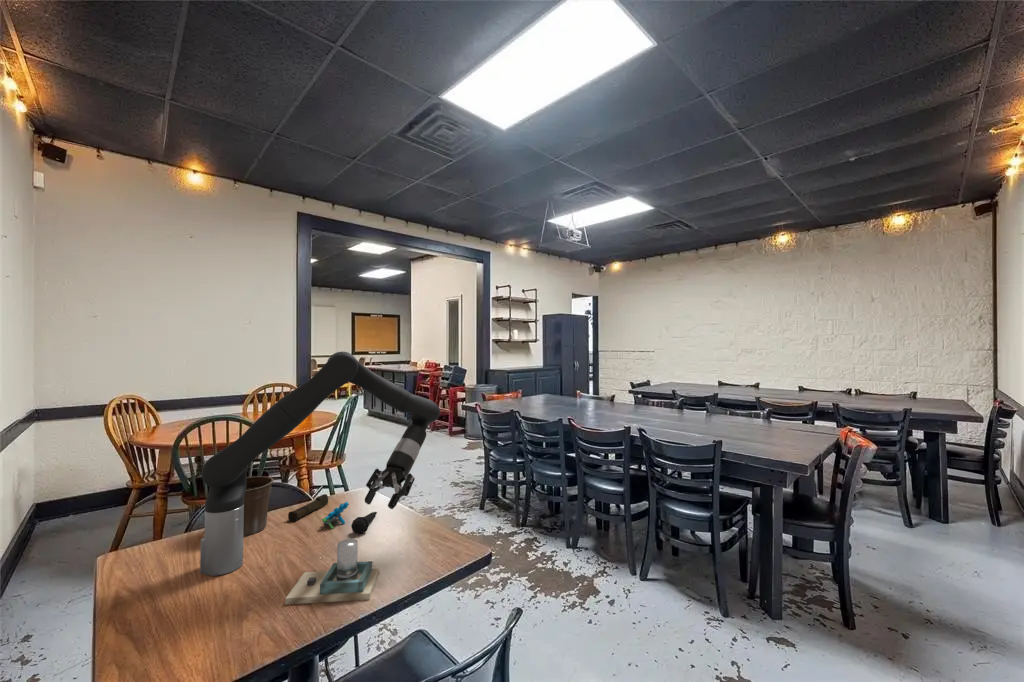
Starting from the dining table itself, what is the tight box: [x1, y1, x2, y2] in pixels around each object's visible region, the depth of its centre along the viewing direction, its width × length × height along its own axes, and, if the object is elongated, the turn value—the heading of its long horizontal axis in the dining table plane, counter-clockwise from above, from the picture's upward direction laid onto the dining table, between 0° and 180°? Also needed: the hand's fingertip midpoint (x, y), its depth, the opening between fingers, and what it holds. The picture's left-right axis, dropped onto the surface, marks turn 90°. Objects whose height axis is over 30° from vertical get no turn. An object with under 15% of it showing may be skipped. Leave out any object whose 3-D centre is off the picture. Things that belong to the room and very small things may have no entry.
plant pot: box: [243, 475, 274, 537], centre depth 144 cm, size 16×16×16 cm
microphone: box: [350, 511, 378, 535], centre depth 149 cm, size 6×6×20 cm
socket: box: [336, 538, 359, 581], centre depth 110 cm, size 5×5×10 cm
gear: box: [321, 501, 350, 530], centre depth 149 cm, size 11×6×10 cm
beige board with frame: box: [284, 560, 381, 606], centre depth 109 cm, size 20×12×4 cm, turn 96°
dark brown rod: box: [287, 493, 329, 523], centre depth 160 cm, size 19×4×5 cm, turn 162°
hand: (378, 505), depth 120 cm, fingers open, 8 cm apart
